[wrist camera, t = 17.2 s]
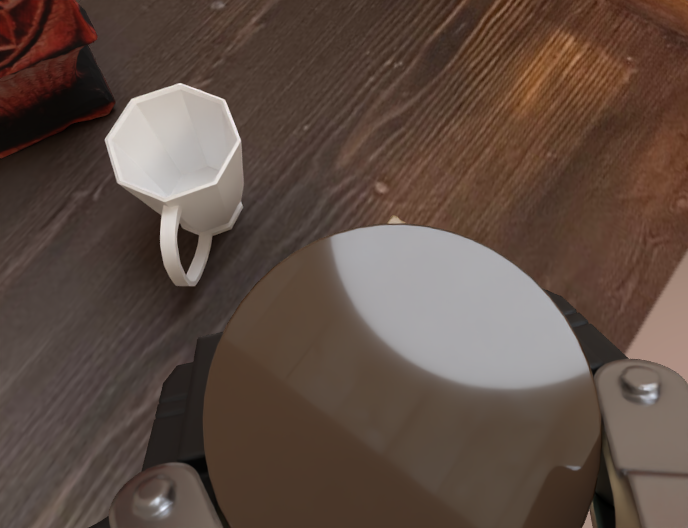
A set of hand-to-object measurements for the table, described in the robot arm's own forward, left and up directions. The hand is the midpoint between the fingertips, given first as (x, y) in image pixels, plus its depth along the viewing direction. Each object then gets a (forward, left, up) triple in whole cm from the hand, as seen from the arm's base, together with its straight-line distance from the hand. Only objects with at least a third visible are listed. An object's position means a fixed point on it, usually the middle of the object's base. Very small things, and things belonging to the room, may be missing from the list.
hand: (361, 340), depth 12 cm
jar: (0, +2, -5) cm, 5 cm away
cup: (+5, -14, -21) cm, 25 cm away
